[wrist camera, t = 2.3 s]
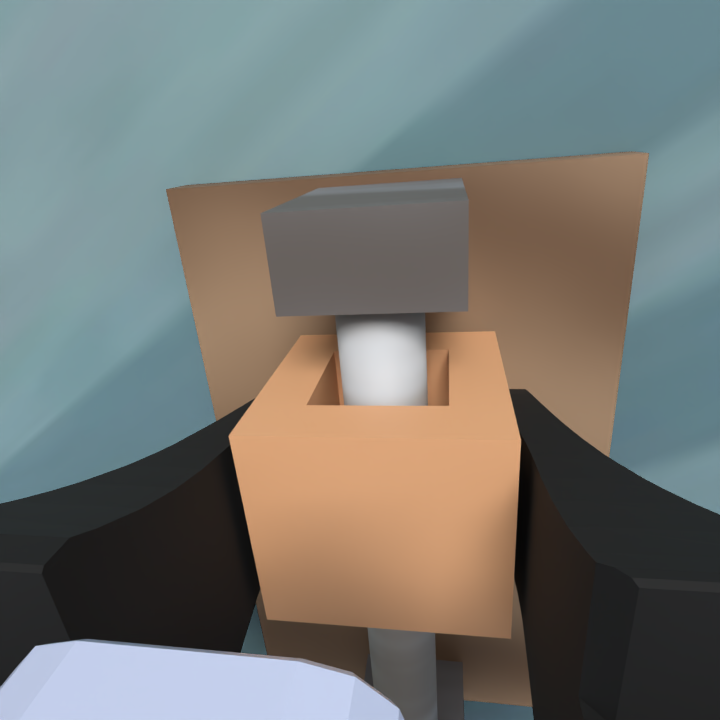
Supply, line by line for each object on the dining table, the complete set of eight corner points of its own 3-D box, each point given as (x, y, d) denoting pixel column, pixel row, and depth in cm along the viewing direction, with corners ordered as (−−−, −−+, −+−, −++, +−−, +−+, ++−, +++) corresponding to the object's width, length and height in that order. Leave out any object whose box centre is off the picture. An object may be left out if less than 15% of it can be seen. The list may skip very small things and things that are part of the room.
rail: (568, 680, 17) (610, 866, 13) (281, 654, 19) (231, 810, 15) (632, 151, 11) (757, 164, 6) (186, 184, 12) (46, 213, 8)
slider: (491, 481, 13) (511, 638, 9) (319, 476, 14) (266, 619, 10) (495, 331, 11) (521, 440, 7) (300, 335, 12) (228, 436, 8)
